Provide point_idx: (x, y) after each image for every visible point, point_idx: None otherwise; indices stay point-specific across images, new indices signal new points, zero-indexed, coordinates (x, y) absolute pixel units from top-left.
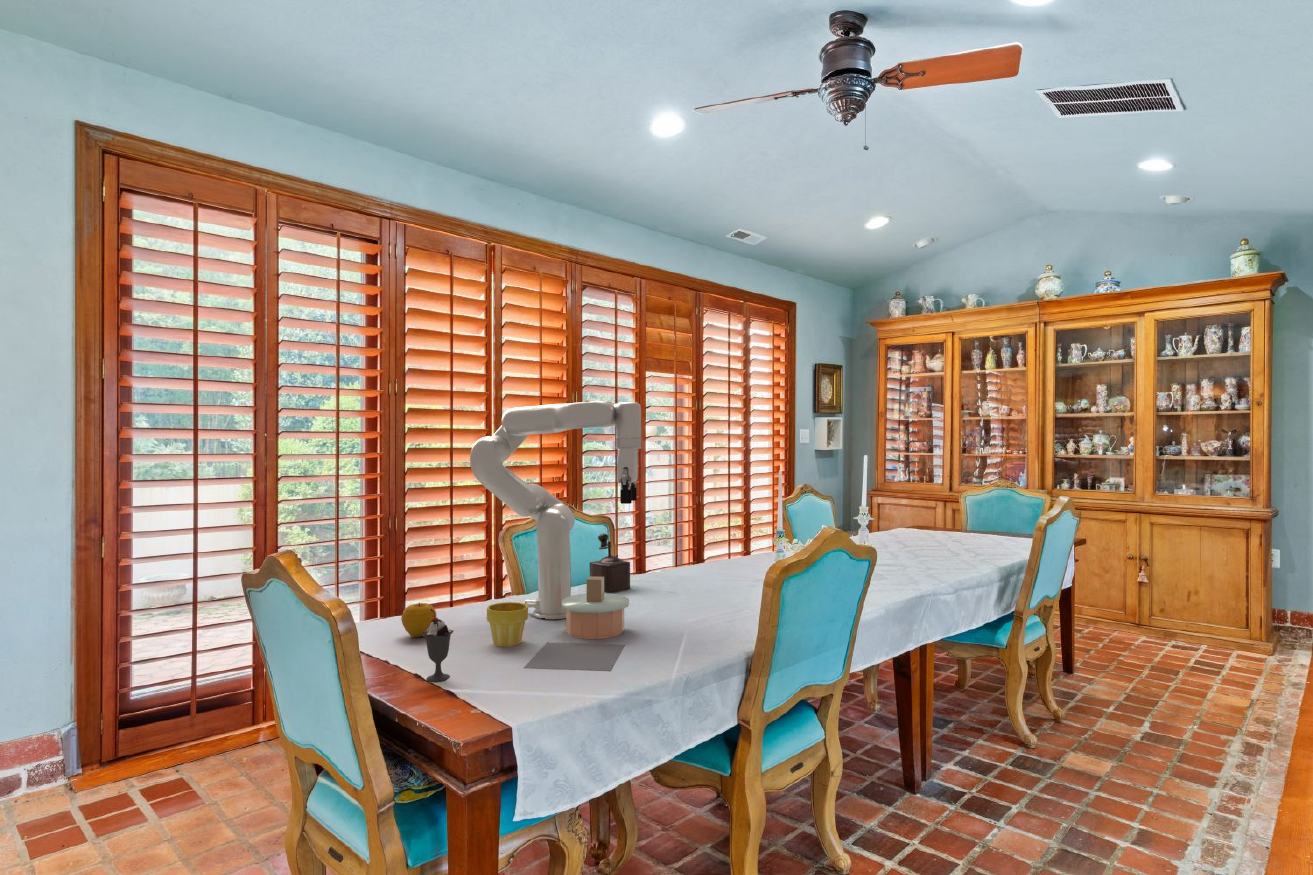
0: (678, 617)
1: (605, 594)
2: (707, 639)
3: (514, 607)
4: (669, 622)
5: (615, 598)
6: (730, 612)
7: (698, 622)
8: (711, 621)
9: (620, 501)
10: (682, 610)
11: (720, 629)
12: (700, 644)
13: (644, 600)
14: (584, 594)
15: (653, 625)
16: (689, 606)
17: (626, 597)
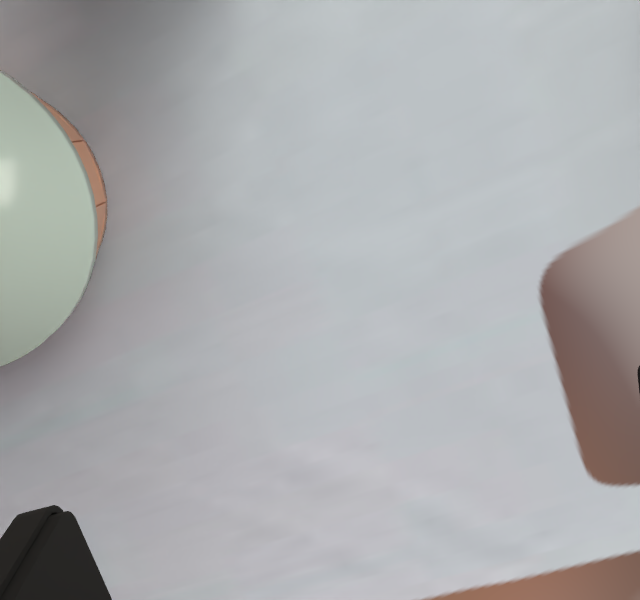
0: (334, 401)
1: (58, 209)
2: (105, 568)
3: None
4: (253, 396)
5: (3, 294)
6: (463, 535)
7: (292, 484)
8: (320, 516)
9: (6, 530)
10: (442, 379)
11: (234, 568)
12: None
13: (572, 167)
14: (3, 100)
15: (190, 360)
16: (512, 381)
17: (49, 332)
